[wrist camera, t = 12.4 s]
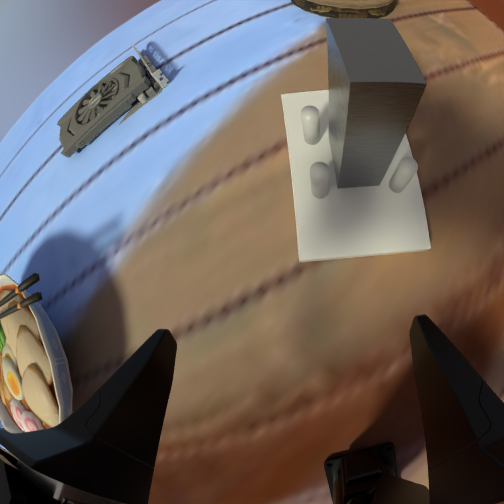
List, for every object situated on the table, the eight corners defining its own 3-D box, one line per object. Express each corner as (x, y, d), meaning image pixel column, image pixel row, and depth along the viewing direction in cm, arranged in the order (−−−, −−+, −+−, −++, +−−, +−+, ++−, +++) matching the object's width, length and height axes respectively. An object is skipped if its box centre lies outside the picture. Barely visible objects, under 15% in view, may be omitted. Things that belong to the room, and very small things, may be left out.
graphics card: (136, 37, 30) (159, 68, 26) (148, 51, 33) (173, 86, 30) (52, 110, 32) (57, 159, 29) (67, 121, 35) (76, 169, 32)
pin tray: (425, 250, 21) (450, 239, 16) (300, 262, 23) (295, 253, 18) (387, 95, 24) (396, 61, 18) (282, 101, 26) (274, 67, 21)
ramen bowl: (34, 434, 28) (-1, 445, 20) (0, 301, 33) (-38, 298, 25) (142, 447, 24) (96, 478, 16) (86, 251, 29) (31, 238, 21)
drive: (380, 185, 22) (428, 83, 9) (337, 188, 22) (350, 82, 10) (368, 133, 22) (391, 19, 10) (328, 136, 23) (325, 18, 11)
